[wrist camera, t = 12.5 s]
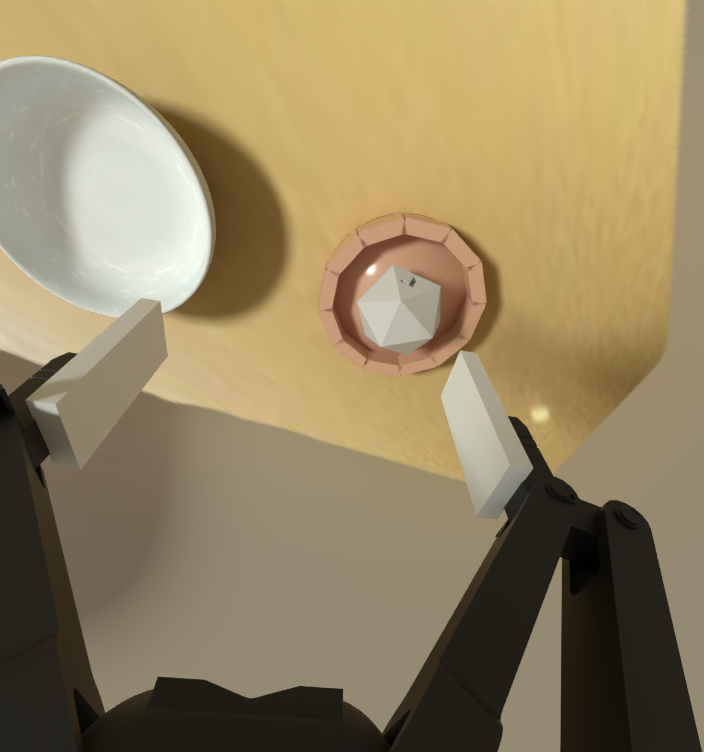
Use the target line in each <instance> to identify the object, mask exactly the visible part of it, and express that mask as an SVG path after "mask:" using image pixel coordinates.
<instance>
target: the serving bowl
mask: <svg viewBox="0 0 704 752" xmlns="http://www.w3.org/2000/svg"><path fill="white" fill-rule="evenodd" d="M215 240H216V221H215V213H214V207H213V202H212V198H211V194H210V191H209V188H208V185H207V183H206V180H205V178H204V175H203V173H202V171H201V169H200V167H199V165H198V163H197V161H196V159H195V158H194V156H193V154H192V153H191V151H190V149H189V148H188V146H187V145H186V144H185V142H184V141H183V139H182V138H181V137H180V136H179V134H178V133H177V132H176V130H175V129H174V128H173V127H172V126H171V125H170V124H169V122H168V121H167V120H166V119H165V118H164V117H163V116H162V115H161V114H160V113H159V112H158V111H157V110H155V109H154V108H153V107H152V106H151V105H150V104H149V103H147V102H146V101H145V100H144V99H142V98H141V97H140V96H138V95H137V94H136V93H134V92H133V91H131V90H130V89H129V88H127V87H126V86H124V85H122V84H121V83H119V82H117V81H116V80H114V79H112V78H110V77H108V76H106V75H104V74H102V73H100V72H98V71H96V70H94V69H92V68H89V67H87V66H84V65H82V64H79V63H76V62H72V61H69V60H65V59H61V58H56V57H49V56H36V55H33V56H19V57H14V58H10V59H7V60H4V61H1V62H0V248H1V249H2V251H3V252H4V253H5V254H6V255H7V256H8V257H9V258H10V259H11V260H12V261H13V262H14V263H15V264H16V265H17V266H18V267H19V268H20V269H21V270H22V271H23V272H24V273H25V274H26V275H28V276H29V277H30V278H31V279H32V280H34V281H35V282H36V283H38V284H39V285H40V286H42V287H43V288H45V289H46V290H48V291H49V292H51V293H52V294H54V295H56V296H57V297H59V298H61V299H63V300H65V301H66V302H69V303H71V304H73V305H75V306H77V307H80V308H82V309H85V310H87V311H90V312H93V313H97V314H100V315H104V316H109V317H115V318H119V317H120V316H121V315H123V314H124V313H125V312H126V311H127V310H128V309H129V308H130V307H132V306H133V305H134V304H135V303H136V302H137V301H138V300H140V299H141V298H145V299H151V300H157V301H160V302H161V310H162V314H165V313H167V312H170V311H172V310H174V309H175V308H177V307H179V306H181V305H182V304H183V303H185V302H186V301H187V300H188V299H189V298H190V297H191V296H192V295H193V294H194V293H195V292H196V291H197V289H198V288H199V286H200V285H201V284H202V282H203V280H204V278H205V276H206V274H207V272H208V269H209V267H210V264H211V261H212V258H213V253H214V248H215Z"/></svg>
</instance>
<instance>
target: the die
mask: <svg viewBox="0 0 704 752" xmlns="http://www.w3.org/2000/svg"><path fill="white" fill-rule="evenodd" d="M440 297H441V286H439V285H437V284H435V283H433V282H431V281H428V280H426V279H424V278H422V277H420V276H417V275H415V274H413V273H411V272H409V271H406V270H404V269H402V268H400V267H398V266H395V265H392V266H391V267H390V268H389V269H388V271H387V272H386V273H385V274H384V275H383V276H382V277H381V278H380V279H379V280H378V281H377V282H376V283H375V284H374V285H373V286H372V287H371V288H370V289H369V290H368V291H367V292H366V293H365V294H364V295H363V296H362V297H361V298H360V299H359V300H358V301H357V304H358V308H359V312H360V316H361V320H362V324H363V328H364V332H365V335H366V336H367V337H368V338H370V339H371V340H372V341H374V342H375V343H376V344H377V345H379V346H380V347H382V348H385V349H388V350H392V351H395V352H398V353H401V354H404V355H408V354H409V353H411V352H412V351H414V350H415V349H417V348H418V347H420V346H421V345H423V344H424V343H426V342H427V341H429V340H430V339H432V338H433V336H434V334H435V332H436V330H437V328H438V325H439V323H440Z"/></svg>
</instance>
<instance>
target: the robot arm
mask: <svg viewBox="0 0 704 752" xmlns="http://www.w3.org/2000/svg"><path fill="white" fill-rule="evenodd" d="M167 356H168V354H167V347H166V339H165V332H164V324H163V317H162V310H161V302H160V301H157V300H151V299H145V298H141V299H140V300H138V301H137V302H136V303H135V304H134V305H133V306H132V307H130V308H129V309H128V310H127V311H126V312H125V313H124V314H123V315H121V316H120V317H119V318H118V319H117V320H116V321H115V322H113V323H112V324H111V325H110V326H109V327H108V328H107V329H105V330H104V331H103V332H102V333H101V334H100V335H99V336H98V337H96V338H95V339H94V340H93V341H92V342H91V343H90V344H88V345H87V346H86V347H85V348H84V349H83V350H82V351H80V352H79V353H78V354H76V353H70V352H68V353H66V354H64V355H61V356H59V357H57V358H55V359H52V360H51V361H50V362H49V363H48V364H46V365H45V366H44V367H43V368H41V371H38V372H37V373H35V374H34V375H33V376H32V378H29V379H28V380H27V381H26V382H24V383H23V384H22V385H21V386H20V387H18V388H17V389H16V390H15V391H14V392H12V393H11V394H10V395H9V396H8V395H7V393H6V391H5V389H4V388H3V386H2V385H1V384H0V752H497V751H498V748H499V745H500V741H501V738H502V732H503V726H502V724H501V721H500V719H501V713H502V710H503V707H504V704H505V702H506V699H507V697H508V694H509V691H510V688H511V685H512V683H513V680H514V678H515V675H516V672H517V670H518V667H519V664H520V662H521V659H522V656H523V654H524V651H525V648H526V646H527V643H528V640H529V638H530V635H531V632H532V630H533V627H534V624H535V622H536V619H537V616H538V614H539V611H540V608H541V605H542V603H543V600H544V598H545V595H546V592H547V590H548V587H549V584H550V582H551V579H552V576H553V574H554V571H555V568H556V566H557V563H558V560H559V558H560V557H561V558H562V632H561V635H562V636H561V749H560V751H561V752H702V750H701V745H700V741H699V737H698V733H697V728H696V724H695V719H694V715H693V711H692V706H691V702H690V698H689V694H688V689H687V685H686V680H685V676H684V671H683V667H682V663H681V658H680V654H679V650H678V645H677V641H676V636H675V632H674V628H673V623H672V619H671V615H670V611H669V606H668V602H667V597H666V593H665V589H664V584H663V580H662V576H661V571H660V567H659V562H658V558H657V553H656V549H655V545H654V540H653V536H652V532H651V528H650V526H649V524H648V522H647V521H646V520H645V518H644V517H643V516H642V515H641V514H640V513H639V512H638V511H636V510H635V509H634V508H633V507H631V506H629V505H627V504H626V503H623V502H620V501H617V500H613V501H612V500H610V501H608V502H607V503H606V504H605V505H604V506H603V507H602V508H601V507H598V506H596V505H593V504H591V503H588V502H586V501H583V500H581V499H579V498H578V496H577V494H576V492H575V491H574V490H573V489H572V488H571V486H570V485H568V484H567V483H566V482H564V481H563V480H561V479H559V478H557V477H554V476H553V475H552V473H551V471H550V469H549V467H548V465H547V463H546V462H545V460H544V458H543V456H542V454H541V452H540V450H539V449H538V448H537V445H536V443H535V441H534V440H533V439H532V436H531V434H530V432H529V430H528V428H527V427H526V426H525V425H524V424H523V423H522V422H521V421H520V420H519V419H518V418H517V417H510V416H507V414H506V412H505V410H504V408H503V406H502V404H501V402H500V400H499V398H498V396H497V394H496V392H495V390H494V388H493V385H492V383H491V381H490V379H489V377H488V375H487V373H486V371H485V369H484V367H483V365H482V363H481V361H480V359H479V357H478V355H477V353H474V352H468V351H462V350H460V352H459V354H458V357H457V359H456V362H455V364H454V366H453V369H452V371H451V374H450V376H449V378H448V381H447V383H446V386H445V388H444V390H443V393H442V395H441V399H442V402H443V406H444V409H445V412H446V416H447V419H448V422H449V426H450V429H451V433H452V436H453V439H454V443H455V446H456V449H457V453H458V456H459V459H460V463H461V466H462V470H463V473H464V476H465V480H466V483H467V486H468V490H469V493H470V497H471V500H472V503H473V507H474V510H475V513H476V516H477V517H485V518H494V519H497V518H498V517H499V516H500V514H501V513H502V511H503V510H504V509H505V511H506V514H507V517H508V520H507V521H506V523H505V524H504V526H503V527H502V528H501V530H500V531H499V532H498V534H497V535H496V537H497V538H496V540H495V542H494V543H493V545H492V547H491V549H490V550H489V552H488V554H487V556H486V557H485V559H484V561H483V562H482V564H481V566H480V568H479V569H478V571H477V573H476V575H475V576H474V578H473V580H472V582H471V583H470V585H469V587H468V589H467V590H466V592H465V594H464V596H463V597H462V599H461V601H460V602H459V604H458V606H457V608H456V609H455V611H454V613H453V615H452V616H451V618H450V620H449V622H448V624H447V625H446V627H445V629H444V631H443V632H442V634H441V636H440V638H439V639H438V641H437V643H436V644H435V646H434V648H433V650H432V651H431V653H430V655H429V657H428V658H427V660H426V662H425V663H424V665H423V667H422V669H421V670H420V672H419V674H418V676H417V677H416V679H415V681H414V683H413V684H412V686H411V688H410V690H409V691H408V693H407V695H406V696H405V698H404V700H403V701H402V703H401V704H400V705H399V707H398V709H397V710H396V711H395V713H394V715H393V716H392V718H391V719H390V721H389V723H388V724H387V726H386V728H385V730H384V731H383V733H381V732H380V731H379V729H378V728H377V727H376V725H375V724H374V723H373V722H372V721H371V720H370V719H369V718H368V717H367V716H366V715H365V714H363V713H362V712H361V711H360V710H359V709H357V708H355V707H354V706H352V705H351V704H349V703H347V702H345V701H343V689H334V688H319V687H304V686H298V687H294V688H291V689H287V690H283V691H279V692H275V693H272V694H268V695H264V696H261V697H257V698H246V697H243V696H241V695H239V694H236V693H234V692H232V691H230V690H227V689H225V688H223V687H220V686H218V685H216V684H213V683H211V682H209V681H206V680H199V679H184V678H168V677H158V678H157V681H156V684H155V687H154V689H153V690H149V691H146V692H143V693H141V694H138V695H135V696H133V697H131V698H129V699H127V700H125V701H124V702H122V703H120V704H118V705H117V706H115V707H114V708H112V709H111V710H109V711H108V712H106V713H105V711H104V707H103V703H102V700H101V697H100V694H99V691H98V689H97V686H96V684H95V681H94V678H93V675H92V672H91V667H90V663H89V659H88V655H87V651H86V647H85V642H84V638H83V635H82V630H81V626H80V622H79V618H78V613H77V609H76V606H75V601H74V597H73V592H72V588H71V584H70V580H69V576H68V572H67V567H66V563H65V559H64V555H63V551H62V547H61V542H60V538H59V534H58V530H57V526H56V521H55V517H54V513H53V509H52V505H51V501H50V497H49V492H48V488H47V484H46V480H45V476H44V472H43V469H42V467H41V465H40V464H41V463H42V462H43V460H45V458H46V457H47V456H48V455H50V457H51V460H52V462H53V464H54V466H55V467H60V468H68V469H77V470H81V469H82V467H83V466H84V465H85V463H86V462H87V461H88V460H89V458H90V457H91V456H92V454H93V453H94V452H95V450H96V449H97V447H98V446H99V445H100V444H101V442H102V441H103V440H104V439H105V437H106V436H107V435H108V433H109V432H110V431H111V429H112V428H113V427H114V425H115V424H116V423H117V421H118V420H119V419H120V418H121V416H122V415H123V414H124V412H125V411H126V410H127V408H128V407H129V406H130V404H131V403H132V402H133V400H134V399H135V398H136V397H137V395H138V394H139V393H140V391H141V390H142V389H143V387H144V386H145V385H146V383H147V382H148V381H149V380H150V378H151V377H152V376H153V374H154V373H155V372H156V370H157V369H158V368H159V366H160V365H161V364H162V363H163V361H164V360H165V359H166V357H167Z"/></svg>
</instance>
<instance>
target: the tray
mask: <svg viewBox="0 0 704 752" xmlns="http://www.w3.org/2000/svg"><path fill="white" fill-rule="evenodd" d="M392 265H395V266H398V267H400V268H402V269H404V270H406V271H409V272H411V273H413V274H415V275H417V276H420V277H422V278H424V279H426V280H428V281H431V282H433V283H435V284H437V285H439V286H441V297H440V323H439V325H438V328H437V330H436V332H435V334H434V336H433V338H432V339H430V340H429V341H427V342H426V343H424V344H423V345H421V346H420V347H418V348H417V349H415V350H414V351H412V352H411V353H409V354H408V355H404V354H401V353H398V352H395V351H392V350H388V349H385V348H382V347H380V346H379V345H377V344H376V343H375V342H374V341H372V340H371V339H370V338H368V337H367V336H366V335H365V332H364V328H363V324H362V320H361V316H360V312H359V308H358V304H357V301H358V300H359V299H360V298H361V297H362V296H363V295H364V294H365V293H366V292H367V291H368V290H369V289H370V288H371V287H372V286H373V285H374V284H375V283H376V282H377V281H378V280H379V279H380V278H381V277H382V276H383V275H384V274H385V273H386V272H387V271H388V269H389V268H390V267H391V266H392ZM486 303H487V301H486V293H485V285H484V276H483V268H482V262H481V260H480V259H479V258H478V257H477V256H476V255H475V253H474V252H473V251H472V250H471V249H470V248H469V247H468V246H467V245H466V243H465V242H464V241H463V240H462V239H461V238H460V237H459V236H458V234H457V233H456V232H455V231H454V230H453V229H452V228H451V227H450V226H449V225H448V224H447V223H446V222H442V221H437V220H435V219H433V218H430V217H426V216H423V215H418V214H410V213H404V212H403V213H401V212H400V213H397V214H391V215H386V216H382V217H378V218H376V219H374V220H371V221H369V222H367V223H365V224H363V225H361V226H358V228H355V229H354V231H353V232H352V233H350V234H349V235H348V236H347V237H346V238H345V239H344V240H343V241H342V242H341V243H340V245H339V246H338V247H337V249H336V250H335V252H334V253H333V255H332V256H331V257H330V258H329V259H328V260H327V263H326V268H325V273H324V279H323V284H322V290H321V296H320V301H319V307H318V312H319V315H320V317H321V320H322V322H323V325H324V327H325V330H326V332H327V335H328V337H329V340H330V342H331V345H333V347H334V348H335V349H336V350H337V351H339V352H340V353H341V354H343V355H344V356H345V357H346V358H348V359H349V360H350V361H352V362H353V363H354V364H355V365H357V366H358V367H359V368H361V369H362V368H363V370H367V371H373V372H378V373H384V374H389V375H394V376H399V374H400V376H403V375H407V374H411V373H415V372H419V371H423V370H427V369H431V368H435V367H437V365H438V366H439V365H441V364H442V363H443V362H444V361H446V360H447V359H448V358H449V357H450V356H452V355H453V354H454V353H455V352H457V351H458V350H459V349H460V348H462V347H463V346H464V345H465V344H467V343H468V342H469V341H468V340H470V339H471V337H472V335H473V333H474V330H475V328H476V326H477V324H478V322H479V319H480V317H481V315H482V313H483V311H484V308H485V306H486ZM436 364H437V365H436Z"/></svg>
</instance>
